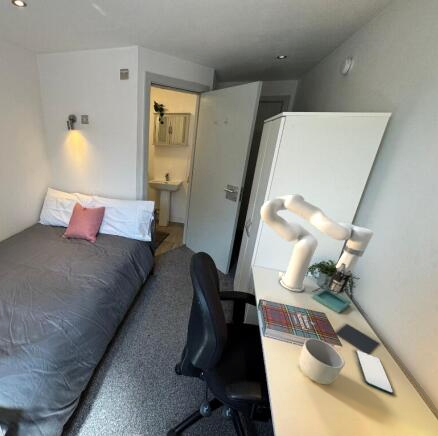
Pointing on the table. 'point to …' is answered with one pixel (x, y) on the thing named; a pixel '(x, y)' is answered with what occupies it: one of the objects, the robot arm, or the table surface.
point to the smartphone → (373, 371)
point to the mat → (357, 338)
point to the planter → (320, 361)
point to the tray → (332, 300)
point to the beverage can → (336, 285)
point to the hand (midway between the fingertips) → (340, 278)
